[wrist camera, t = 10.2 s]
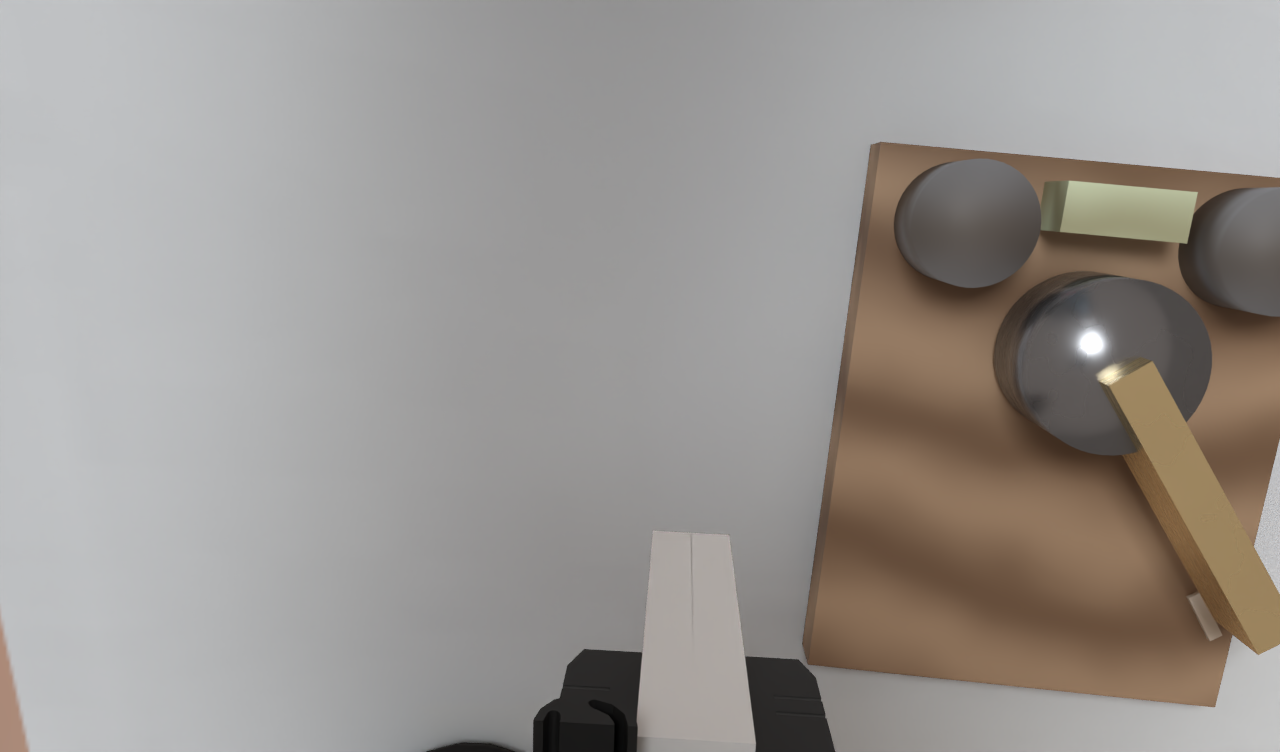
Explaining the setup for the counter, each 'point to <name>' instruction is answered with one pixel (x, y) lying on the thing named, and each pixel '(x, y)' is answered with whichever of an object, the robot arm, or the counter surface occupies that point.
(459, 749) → the coffee jar
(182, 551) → the counter surface
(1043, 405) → the ball-head mallet
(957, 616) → the instrument base
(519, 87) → the counter surface
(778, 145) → the counter surface
